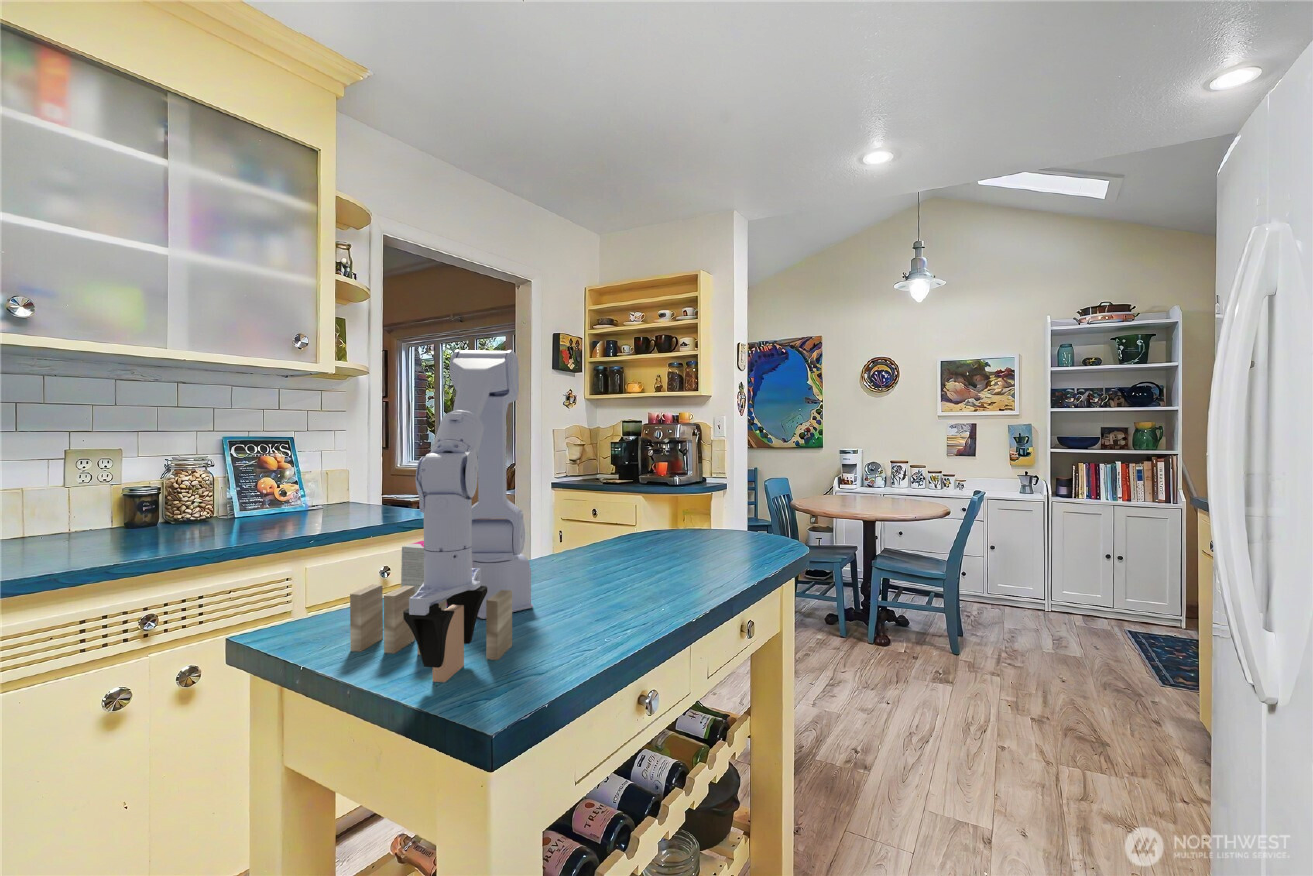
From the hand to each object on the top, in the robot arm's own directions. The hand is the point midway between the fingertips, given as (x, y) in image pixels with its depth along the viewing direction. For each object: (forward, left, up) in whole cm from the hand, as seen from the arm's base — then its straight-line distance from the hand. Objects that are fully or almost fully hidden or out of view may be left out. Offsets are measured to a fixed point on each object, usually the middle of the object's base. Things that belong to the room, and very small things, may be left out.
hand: (448, 653), depth 74 cm
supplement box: (-7, -27, -3) cm, 28 cm away
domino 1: (+5, -17, -2) cm, 18 cm away
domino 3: (0, 0, -2) cm, 2 cm away
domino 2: (+2, -14, -2) cm, 14 cm away
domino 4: (-8, -2, -2) cm, 9 cm away
